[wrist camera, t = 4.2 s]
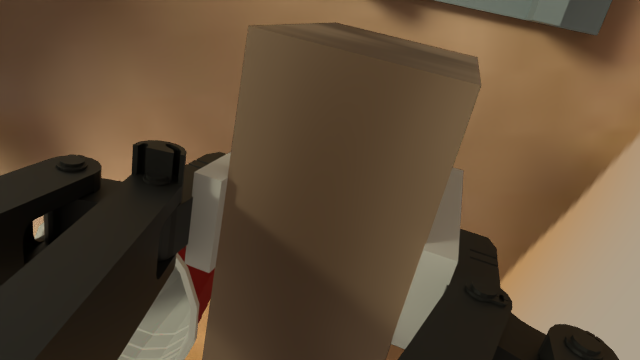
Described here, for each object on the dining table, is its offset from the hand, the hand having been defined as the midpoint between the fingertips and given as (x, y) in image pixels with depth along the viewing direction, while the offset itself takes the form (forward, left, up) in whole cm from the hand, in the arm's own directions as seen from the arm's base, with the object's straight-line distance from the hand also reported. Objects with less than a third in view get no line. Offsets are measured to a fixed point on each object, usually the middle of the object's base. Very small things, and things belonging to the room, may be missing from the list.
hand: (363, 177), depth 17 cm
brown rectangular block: (0, 0, -1) cm, 1 cm away
